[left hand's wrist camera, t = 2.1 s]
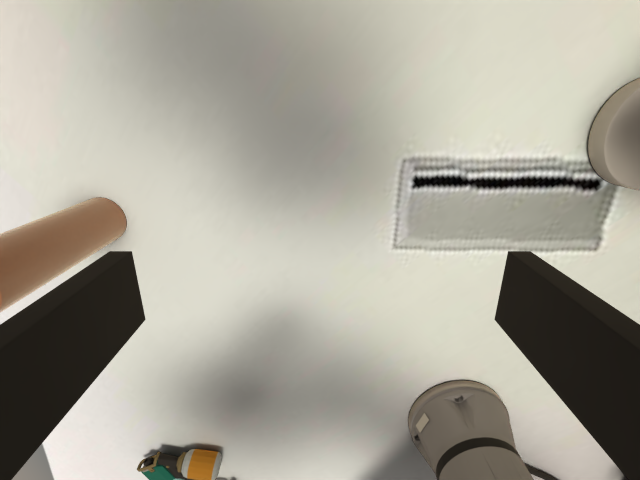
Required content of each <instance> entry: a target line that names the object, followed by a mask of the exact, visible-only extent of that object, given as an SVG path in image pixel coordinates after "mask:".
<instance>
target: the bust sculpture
mask: <svg viewBox="0 0 640 480" xmlns="http://www.w3.org/2000/svg"><path fill="white" fill-rule="evenodd" d="M588 152H589V158H590V161H591V164H592V166H593V168H594V170H595V171H596V172H597V174H598V175H599V176H600V177H602V178H603V179H604V180H606V181H607V182H610V183H612V184H615V185H619V186H623V187H627V188H631V189H635V190H640V78H639V79H636V80H634V81H632V82H630V83H628V84H627V85H625V86H624V87H622V88H621V89H620V90H618V91H617V92H616V93H615V94H614V95H613V96H612V97H611V98H610V99H609V100H608V101H607V102H606V103H605V104H604V106H603V107H602V108H601V110H600V111H599V113H598V115H597V117H596V119H595V121H594V123H593V125H592V128H591V131H590V135H589V142H588Z"/></svg>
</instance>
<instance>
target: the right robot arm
mask: <svg viewBox="0 0 640 480" xmlns="http://www.w3.org/2000/svg"><path fill="white" fill-rule="evenodd" d="M408 424H409V429H410V433H411V436H412V439H413V442H414V444H415V445H416V447H417V448H418V450H419V451H420V453H421V454H422V455H423V457H424V458H425V460H426V461H427V463H428V464H429V465H430V467H431V468H432V470H433V471H434V473H435V474H436V477H437V480H533V478H532V476H531V474H533V475H535V476H538V477H540V478H542V479H545V480H557V479H555V478H554V477H552V476H550V475H548V474H546V473H544V472H542V471H539V470H537V469H535V468H532V467H530V466H528V465H525V464H524V462H523V461H522V459H521V457H520V456H519V454H518V452H517V450H516V448H515V443H514V439H513V434H512V429H511V425H510V419H509V415H508V411H507V409H506V407H505V405H504V404H503V402H502V401H501V399H500V397H499V396H498V395H497V394H496V393H495V392H494V391H493V390H492V389H491V388H489V387H487V386H485V385H483V384H481V383H477V382H473V381H452V382H447V383H443V384H440V385H438V386H435V387H433V388H431V389H430V390H428V391H427V392H425V393H424V394H423V395H421V396H420V397H419V398H418V400H417V401H416V402H415V403H414V405H413V407H412V408H411V411H410V414H409V419H408Z"/></svg>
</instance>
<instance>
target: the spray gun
mask: <svg viewBox="0 0 640 480" xmlns="http://www.w3.org/2000/svg"><path fill="white" fill-rule="evenodd" d="M221 459H222V456H221V454H220V452H216V451H208V450H200V449H191V450H190V451H188V452H183V453H182V455H181V456H180V457H177V456H173V455H168V454H163V453H161V452H158V453H157V455H154V456H151V457H148V458H146V459H143V460H142V461H141V462H140V464H139V465H138V468H137V470H138V471H139V472H140V471H141V472H142V473H143V474H144V475H145V476H146V477H147V478H148V479H149V480H215V479H216V478H217V476H218V473H219V469H220V465H221ZM143 463H144V466H143V468H141V466H142V464H143Z"/></svg>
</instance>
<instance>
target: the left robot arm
mask: <svg viewBox="0 0 640 480" xmlns="http://www.w3.org/2000/svg"><path fill="white" fill-rule="evenodd" d="M144 321H145V315H144V310H143V305H142V300H141V295H140V290H139V285H138V280H137V275H136V270H135V265H134V260H133V255H132V251H110V252H108V253H107V254H105V255H104V256H102V257H101V258H99V259H98V260H96V261H95V262H93V263H92V264H90V265H89V266H87V267H86V268H84V269H83V270H81V271H80V272H78V273H77V274H75V275H74V276H72V277H71V278H69V279H68V280H66V281H65V282H63V283H62V284H61V285H59V286H58V287H56V288H55V289H53V290H52V291H50V292H49V293H47V294H46V295H44V296H43V297H41V298H40V299H38V300H37V301H35V302H34V303H32V304H31V305H29V306H28V307H26V308H25V309H23V310H22V311H20V312H19V313H17V314H16V315H14V316H13V317H11V318H10V319H8V320H7V321H5V322H4V323H2V324H1V325H0V480H11V479H12V478H13V477H14V476H15V475H16V474H17V472H18V471H19V470H20V469H21V468H22V466H23V465H24V464H25V463H26V462H27V460H28V459H29V458H30V457H31V456H32V454H33V453H34V452H35V451H36V450H37V448H38V447H39V446H40V445H41V444H42V442H43V441H44V440H45V439H46V438H47V436H48V435H49V434H50V433H51V432H52V431H53V429H54V428H55V427H56V426H57V425H58V423H59V422H60V421H61V420H62V419H63V417H64V416H65V415H66V414H67V413H68V411H69V410H70V409H71V408H72V407H73V405H74V404H75V403H76V402H77V401H78V399H79V398H80V397H81V396H82V395H83V393H84V392H85V391H86V390H87V389H88V387H89V386H90V385H91V384H92V383H93V382H94V380H95V379H96V378H97V377H98V376H99V374H100V373H101V372H102V371H103V370H104V368H105V367H106V366H107V365H108V364H109V362H110V361H111V360H112V359H113V358H114V356H115V355H116V354H117V353H118V352H119V350H120V349H121V348H122V347H123V346H124V344H125V343H126V342H127V341H128V340H129V338H130V337H131V336H132V335H133V334H134V332H135V331H136V330H137V329H138V328H139V327H140V325H141V324H142V323H143V322H144ZM495 321H496V322H497V323H498V324H499V325H500V327H501V328H502V329H503V330H504V331H505V332H506V334H507V335H508V336H509V337H510V338H511V340H512V341H513V342H514V343H515V344H516V346H517V347H518V348H519V349H520V350H521V352H522V353H523V354H524V355H525V356H526V358H527V359H528V360H529V361H530V362H531V364H532V365H533V366H534V367H535V368H536V370H537V371H538V372H539V373H540V374H541V376H542V377H543V378H544V379H545V380H546V382H547V383H548V384H549V385H550V386H551V387H552V389H553V390H554V391H555V392H556V393H557V395H558V396H559V397H560V398H561V399H562V401H563V402H564V403H565V404H566V405H567V407H568V408H569V409H570V410H571V411H572V413H573V414H574V415H575V416H576V417H577V419H578V420H579V421H580V422H581V423H582V425H583V426H584V427H585V428H586V429H587V431H588V432H589V433H590V434H591V435H592V436H593V438H594V439H595V440H596V441H597V442H598V444H599V445H600V446H601V447H602V448H603V450H604V451H605V452H606V453H607V454H608V456H609V457H610V458H611V459H612V460H613V462H614V463H615V464H616V465H617V466H618V468H619V469H620V470H621V471H622V472H623V474H624V475H625V476H626V477H627V478H628V480H640V325H639V324H638V323H636V322H635V321H633V320H632V319H630V318H629V317H627V316H626V315H624V314H623V313H621V312H620V311H618V310H617V309H615V308H614V307H612V306H611V305H609V304H608V303H606V302H605V301H603V300H602V299H600V298H599V297H597V296H596V295H594V294H593V293H591V292H590V291H588V290H587V289H585V288H584V287H582V286H581V285H579V284H578V283H577V282H575V281H574V280H572V279H571V278H569V277H568V276H566V275H565V274H563V273H562V272H560V271H559V270H557V269H556V268H554V267H553V266H551V265H550V264H548V263H547V262H545V261H544V260H542V259H541V258H539V257H538V256H536V255H535V254H533V253H532V252H530V251H508V255H507V260H506V265H505V270H504V275H503V280H502V285H501V290H500V295H499V300H498V305H497V310H496V315H495Z"/></svg>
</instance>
